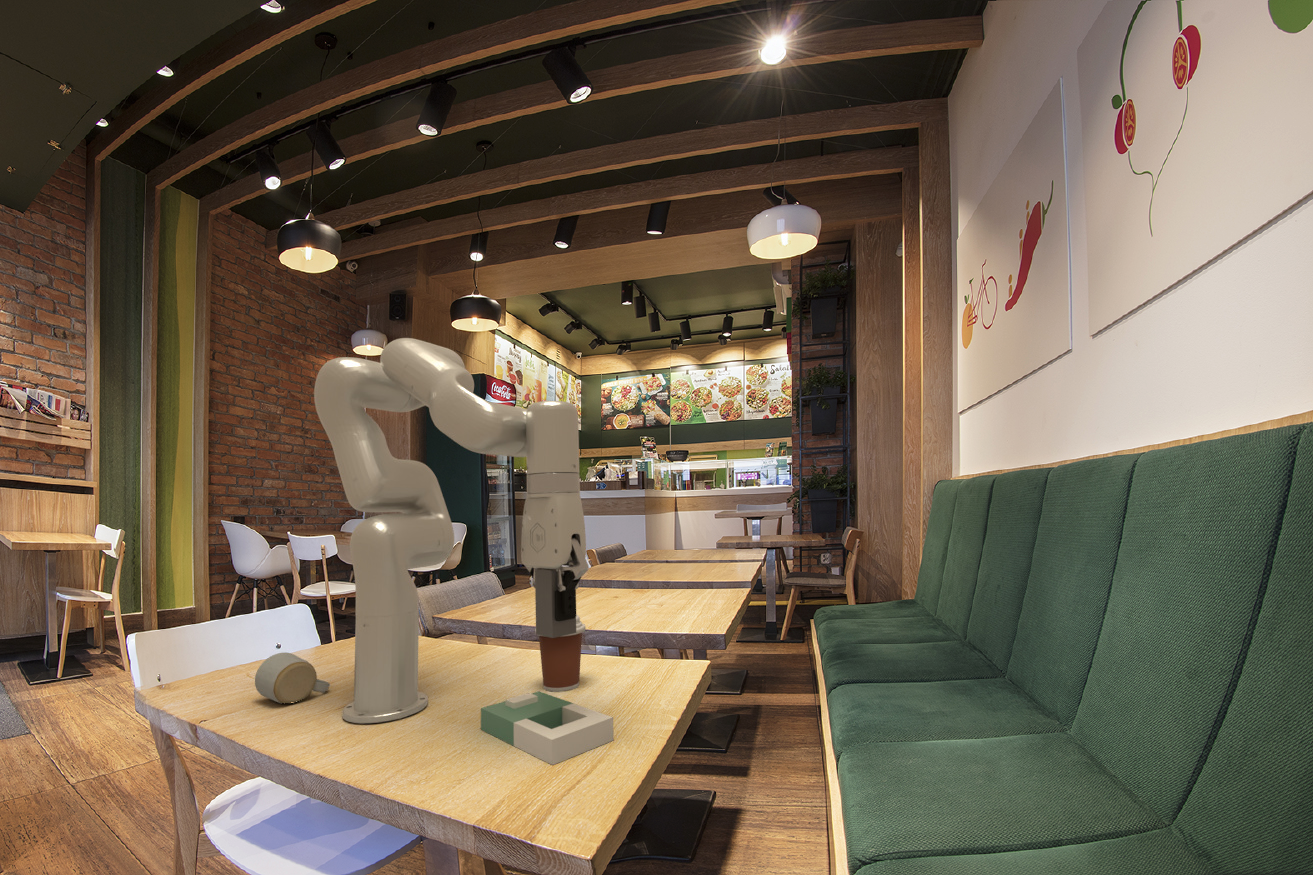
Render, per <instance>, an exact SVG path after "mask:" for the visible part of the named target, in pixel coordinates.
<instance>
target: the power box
mask: <svg viewBox="0 0 1313 875" xmlns="http://www.w3.org/2000/svg"><path fill="white" fill-rule="evenodd" d="M480 731H483V732H485V733H487V734H488V735H491V736H493V737H495V738H497V739H499V740H501V741H503V742H505V743H506V744H509V745H511V746H513V747H515V748H517V749H519V750H521V751H523V752H525V753H527V754H529V755H532V756H533V757H535V758H537V759H539V760H541V761H543V762H545V763H547V764H549V765H551V766H554V765H556V764H559V763H560V762H561V763H562V762H564V761H566V760H568V759H569V760H570V759H571V758H573V757H577V756H579V755H581V754H583V753H585V752H588V751H591V750H593V749H595V748H598V747H600V746H602V745H605V744H608V743H610V742H613V741H614V717H612V716H610V715H608V714H605V713H602V712H599V711H596V710H593V709H591V708H587V707H584V706H582V705H579V704H576V703H574V702H570V701H568V700H565V699H562V698H559V697H557V696H554V695H550V694H548V693H545V692H542V691H535V692H531V693H530V692H528V693H525V694H521V695H517V696H513V697H510V698H508V699H505V700H504V701H501V702H500V701H499V702H498V703H494V704H490V705H487V706H484V707H480Z"/></svg>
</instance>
